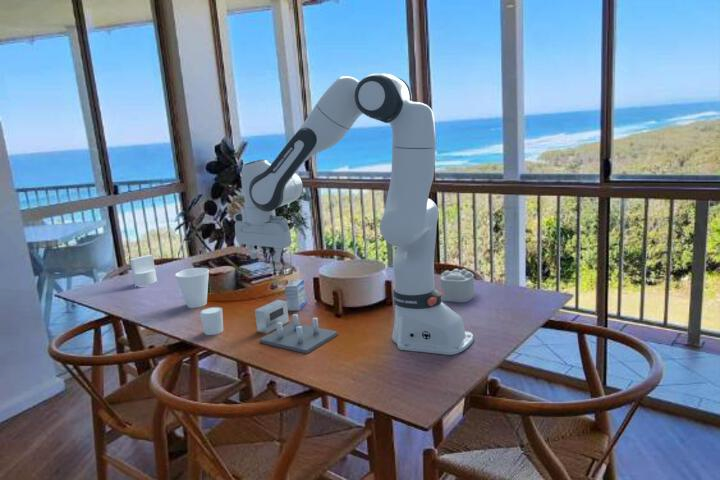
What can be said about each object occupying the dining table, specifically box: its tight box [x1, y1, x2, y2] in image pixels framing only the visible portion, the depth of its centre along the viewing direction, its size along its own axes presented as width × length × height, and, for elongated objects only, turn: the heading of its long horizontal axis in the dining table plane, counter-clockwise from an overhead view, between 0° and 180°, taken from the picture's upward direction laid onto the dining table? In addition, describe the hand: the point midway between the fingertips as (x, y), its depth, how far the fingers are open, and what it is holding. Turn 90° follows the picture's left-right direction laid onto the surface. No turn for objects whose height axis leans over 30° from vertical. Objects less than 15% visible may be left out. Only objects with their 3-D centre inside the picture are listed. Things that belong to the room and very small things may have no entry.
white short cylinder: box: [199, 306, 224, 336], centre depth 162 cm, size 7×7×7 cm
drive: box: [254, 299, 290, 334], centre depth 162 cm, size 4×10×7 cm, turn 145°
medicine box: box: [284, 279, 307, 312], centre depth 179 cm, size 8×4×9 cm, turn 168°
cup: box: [174, 267, 210, 309], centre depth 189 cm, size 12×12×12 cm
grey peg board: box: [258, 313, 339, 355], centre depth 152 cm, size 18×14×6 cm
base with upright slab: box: [129, 254, 158, 286], centre depth 221 cm, size 9×9×12 cm
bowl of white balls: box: [439, 268, 475, 303], centre depth 177 cm, size 10×13×9 cm
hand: (265, 259), depth 159 cm, fingers open, 8 cm apart
